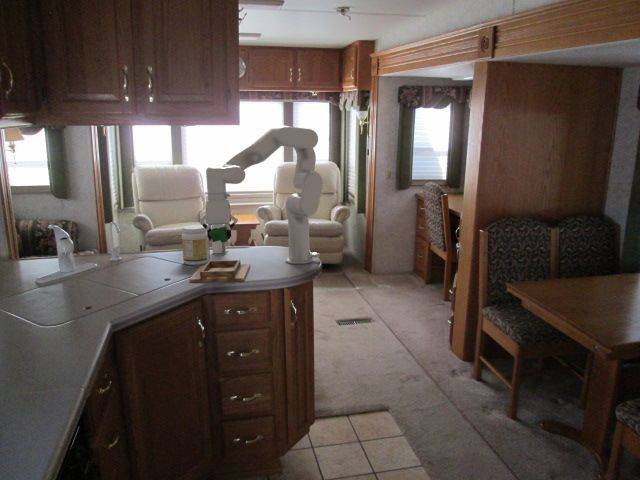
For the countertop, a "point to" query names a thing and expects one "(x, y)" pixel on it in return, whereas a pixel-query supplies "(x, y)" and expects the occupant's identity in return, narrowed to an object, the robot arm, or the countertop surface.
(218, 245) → the skyscraper
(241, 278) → the brown shallow square tray
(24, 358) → the countertop surface
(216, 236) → the clamp
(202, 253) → the supplement tub
